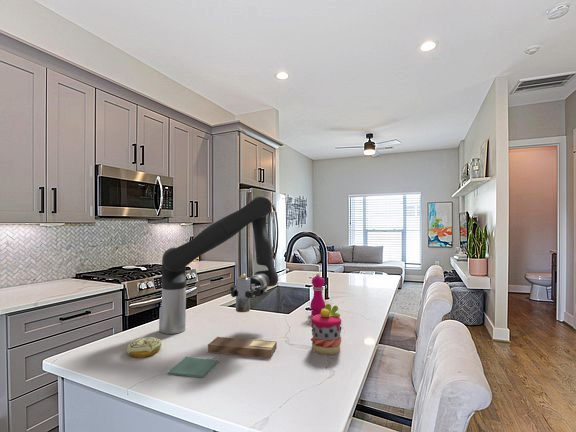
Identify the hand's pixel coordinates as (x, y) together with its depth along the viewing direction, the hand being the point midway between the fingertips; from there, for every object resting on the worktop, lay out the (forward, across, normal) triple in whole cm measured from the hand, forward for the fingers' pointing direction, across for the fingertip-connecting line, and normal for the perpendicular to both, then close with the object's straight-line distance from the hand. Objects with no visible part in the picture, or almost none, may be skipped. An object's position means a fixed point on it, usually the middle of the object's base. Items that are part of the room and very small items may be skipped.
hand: (240, 294), depth 111 cm
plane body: (-3, 0, +20) cm, 20 cm away
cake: (-10, +28, +20) cm, 36 cm away
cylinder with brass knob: (-3, 0, +6) cm, 7 cm away
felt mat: (+13, -10, +20) cm, 26 cm away
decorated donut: (+5, -32, +20) cm, 38 cm away
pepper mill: (-52, +21, +20) cm, 59 cm away
